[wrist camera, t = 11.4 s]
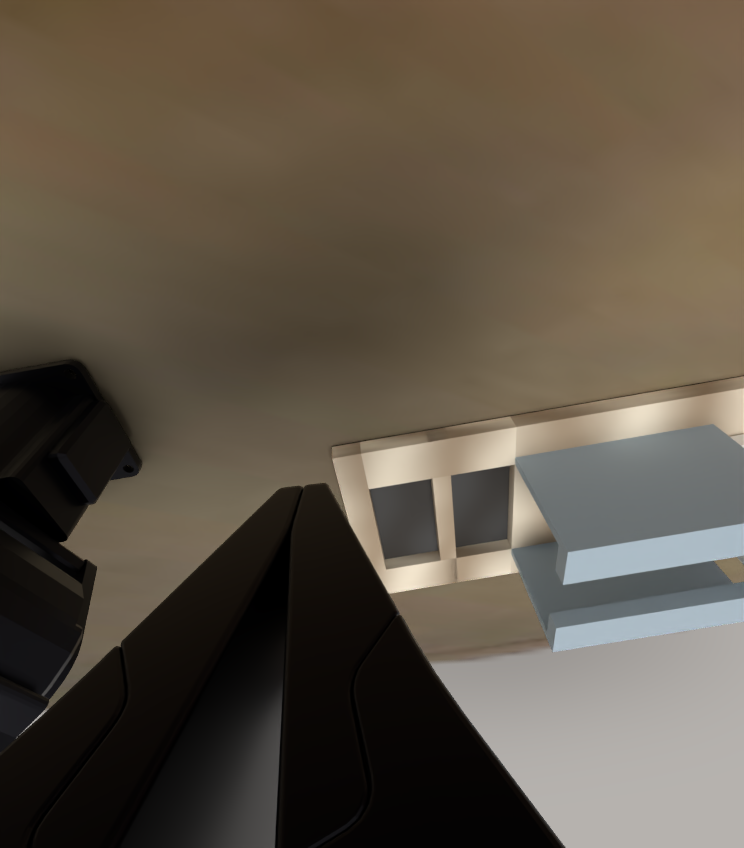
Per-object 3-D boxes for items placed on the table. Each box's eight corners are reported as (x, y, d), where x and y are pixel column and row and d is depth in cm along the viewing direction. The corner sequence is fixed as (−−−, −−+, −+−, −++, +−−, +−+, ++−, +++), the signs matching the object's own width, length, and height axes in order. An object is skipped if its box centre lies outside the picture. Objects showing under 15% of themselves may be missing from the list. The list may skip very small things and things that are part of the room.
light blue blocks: (511, 554, 28) (552, 652, 23) (515, 457, 23) (568, 552, 18) (676, 526, 28) (756, 619, 23) (713, 423, 23) (823, 510, 18)
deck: (367, 583, 30) (368, 596, 29) (331, 446, 23) (332, 458, 23) (764, 518, 30) (776, 529, 29) (846, 358, 23) (865, 367, 22)
